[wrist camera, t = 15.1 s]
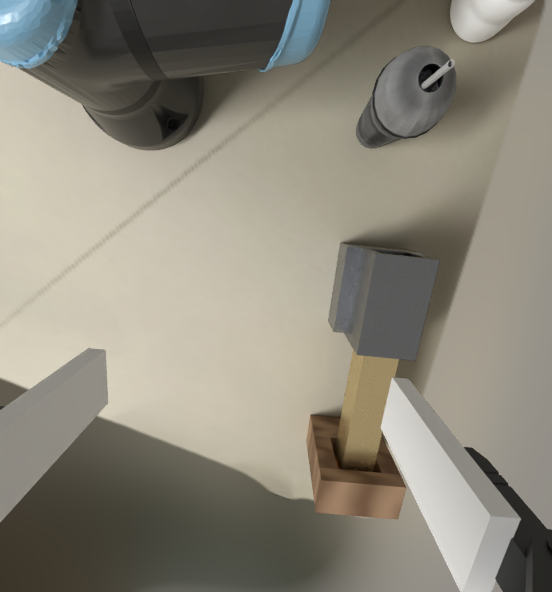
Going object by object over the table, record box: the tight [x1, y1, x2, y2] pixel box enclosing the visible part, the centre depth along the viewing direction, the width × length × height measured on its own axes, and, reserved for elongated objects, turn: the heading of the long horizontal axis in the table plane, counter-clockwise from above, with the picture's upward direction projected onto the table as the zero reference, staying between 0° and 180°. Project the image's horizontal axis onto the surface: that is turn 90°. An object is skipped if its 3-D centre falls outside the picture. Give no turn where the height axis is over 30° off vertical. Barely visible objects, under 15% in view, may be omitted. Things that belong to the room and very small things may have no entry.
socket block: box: [307, 415, 406, 519], centre depth 45 cm, size 11×5×13 cm, turn 84°
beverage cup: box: [356, 46, 456, 148], centre depth 30 cm, size 7×7×20 cm
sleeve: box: [328, 243, 440, 361], centre depth 39 cm, size 10×12×12 cm
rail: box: [334, 349, 399, 472], centre depth 41 cm, size 4×22×4 cm, turn 174°
